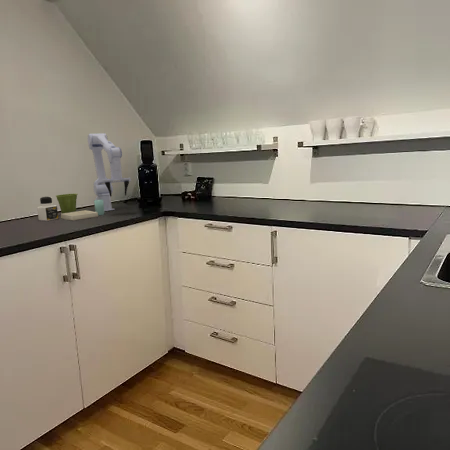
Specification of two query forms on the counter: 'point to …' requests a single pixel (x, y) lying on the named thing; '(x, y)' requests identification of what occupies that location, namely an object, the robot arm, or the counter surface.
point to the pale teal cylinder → (99, 206)
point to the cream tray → (79, 215)
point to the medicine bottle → (47, 209)
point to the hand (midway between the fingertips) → (118, 195)
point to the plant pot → (67, 202)
